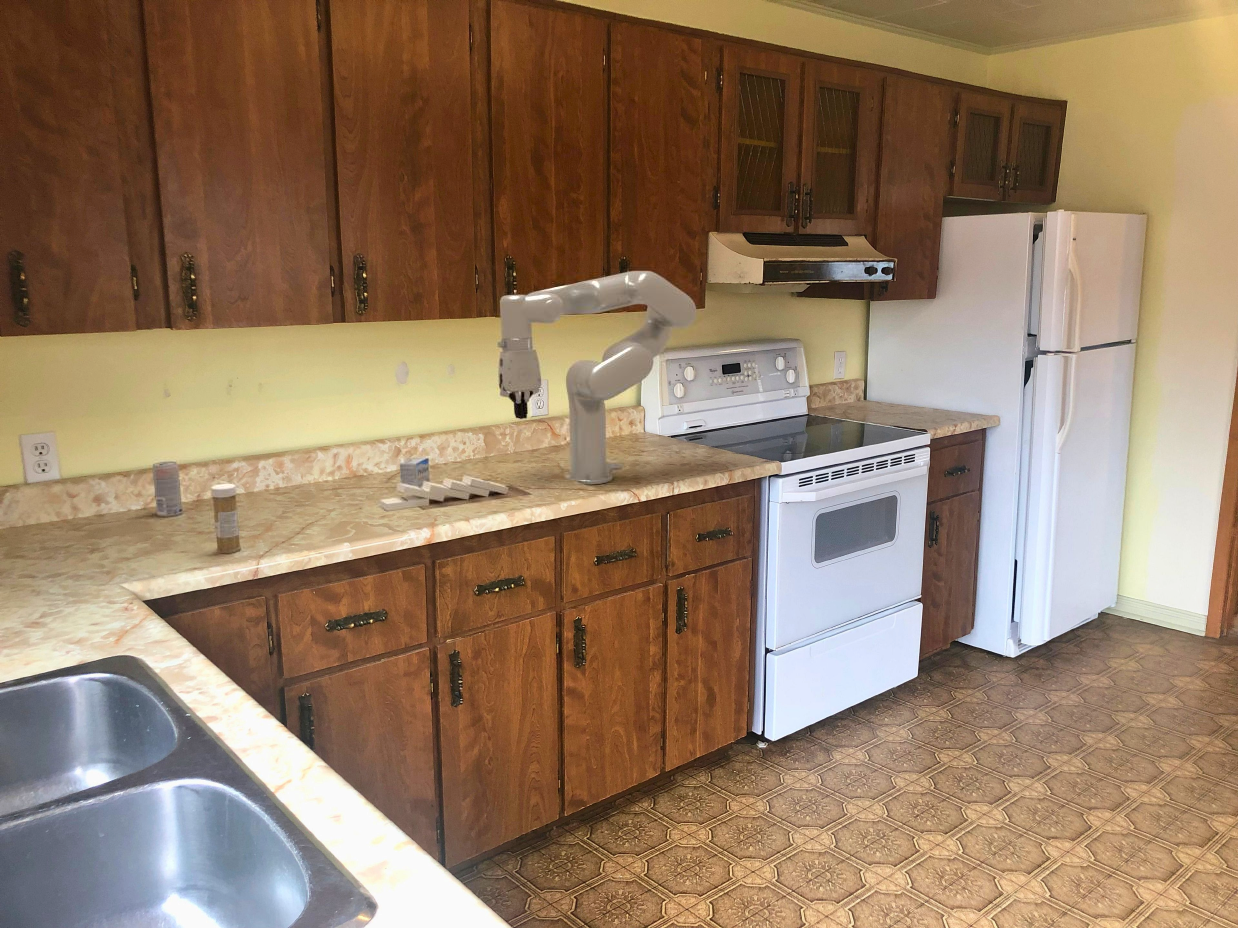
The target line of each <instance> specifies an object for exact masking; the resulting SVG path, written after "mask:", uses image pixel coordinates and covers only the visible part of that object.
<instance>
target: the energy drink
mask: <svg viewBox="0 0 1238 928" xmlns="http://www.w3.org/2000/svg"><path fill="white" fill-rule="evenodd" d="M151 468H152V471H151V472H152V477H153V486H154V497H155V505H156V507H155V508H156V513H157V516H158V517H160V518H172V517H176V516H177V517H178V516H180V515H181V514H182V513H183V502H182V493H181V482H180V473H179V466H178V463H177V461H160V462H156V463H153V464H152V467H151Z"/></svg>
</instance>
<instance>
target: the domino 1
mask: <svg viewBox="0 0 1238 928" xmlns="http://www.w3.org/2000/svg"><path fill="white" fill-rule="evenodd" d="M379 502H380V503H379V505H380V506H379V507H380V508H381V509H384V510H385V511H388V512H389V511H397V510H403V509H412V508H418V507H419V506H426V505H429V498H424V497H420V496H415V495H405V496H398V497H391V498H383V499H379Z"/></svg>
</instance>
